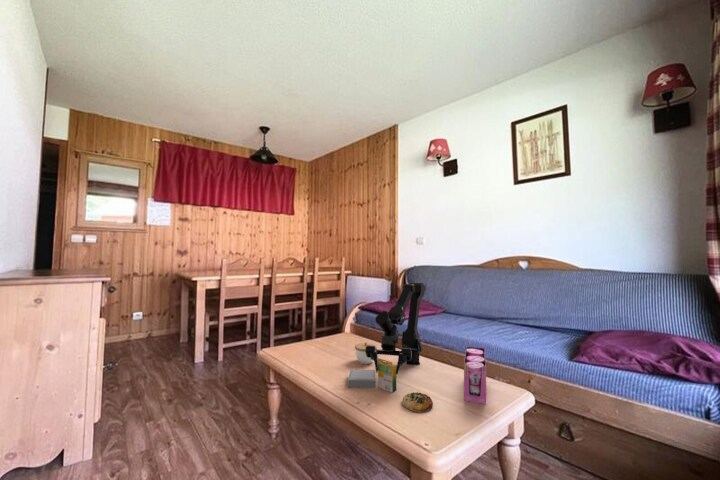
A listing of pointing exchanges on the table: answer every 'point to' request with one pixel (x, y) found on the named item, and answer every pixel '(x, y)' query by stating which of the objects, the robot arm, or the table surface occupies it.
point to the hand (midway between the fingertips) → (386, 373)
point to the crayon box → (386, 375)
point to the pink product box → (475, 375)
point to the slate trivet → (362, 379)
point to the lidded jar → (363, 353)
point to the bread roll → (417, 402)
